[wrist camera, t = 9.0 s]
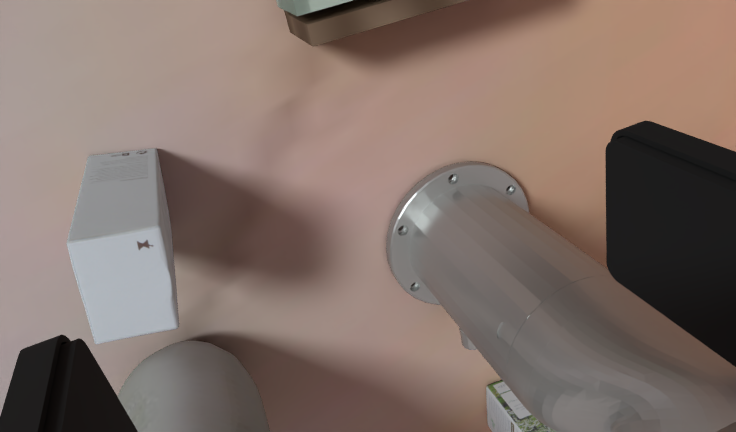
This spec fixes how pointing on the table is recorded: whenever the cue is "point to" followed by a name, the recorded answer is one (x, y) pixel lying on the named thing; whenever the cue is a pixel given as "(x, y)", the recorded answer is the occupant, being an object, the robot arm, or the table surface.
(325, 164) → the table surface
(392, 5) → the bay
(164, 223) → the skincare box
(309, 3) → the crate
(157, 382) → the glass bottle
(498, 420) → the syrup box
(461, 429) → the table surface
